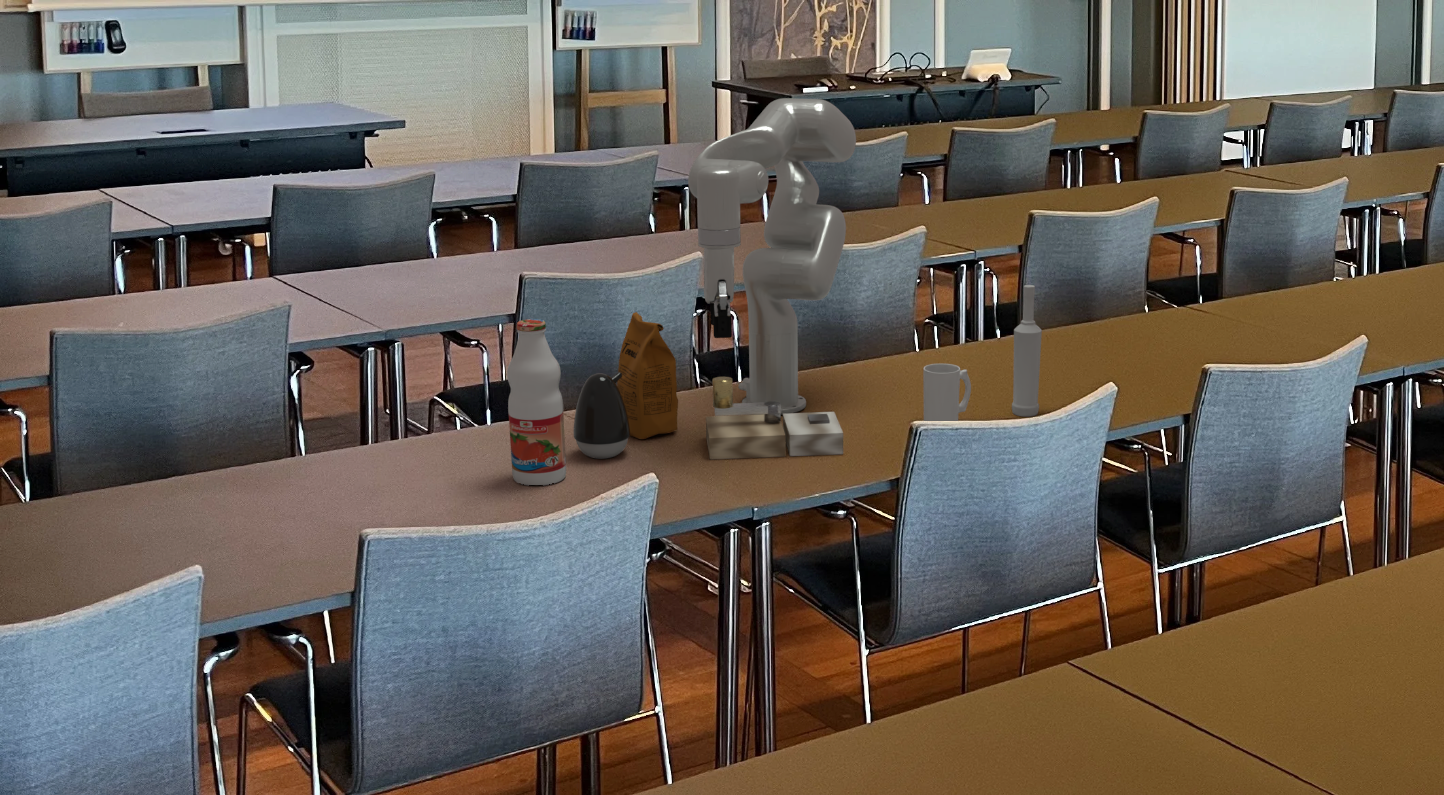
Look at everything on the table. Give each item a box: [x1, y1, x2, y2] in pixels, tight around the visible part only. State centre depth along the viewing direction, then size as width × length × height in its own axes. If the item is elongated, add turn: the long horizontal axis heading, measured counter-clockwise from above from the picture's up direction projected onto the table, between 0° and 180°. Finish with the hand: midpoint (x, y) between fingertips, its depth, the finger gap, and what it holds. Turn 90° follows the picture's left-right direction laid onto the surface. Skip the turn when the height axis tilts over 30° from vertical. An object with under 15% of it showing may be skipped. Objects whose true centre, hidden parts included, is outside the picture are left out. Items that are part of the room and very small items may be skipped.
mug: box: [922, 363, 972, 422], centre depth 310 cm, size 10×7×12 cm, turn 118°
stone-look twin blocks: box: [705, 411, 844, 460], centre depth 303 cm, size 24×13×5 cm, turn 93°
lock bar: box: [712, 376, 782, 423], centre depth 303 cm, size 12×4×8 cm, turn 93°
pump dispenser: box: [573, 371, 631, 460], centre depth 299 cm, size 10×10×15 cm
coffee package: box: [616, 311, 679, 440], centre depth 312 cm, size 10×12×22 cm
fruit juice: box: [506, 318, 567, 486], centre depth 285 cm, size 9×9×28 cm
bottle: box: [1011, 284, 1043, 417], centre depth 316 cm, size 5×5×25 cm
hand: (721, 331), depth 299 cm, fingers open, 9 cm apart
